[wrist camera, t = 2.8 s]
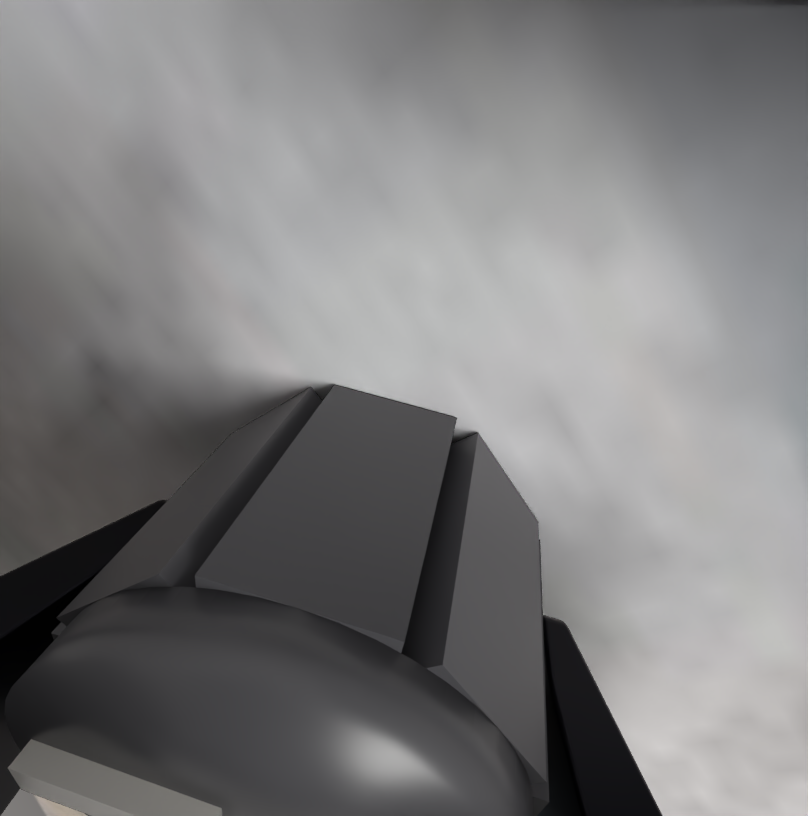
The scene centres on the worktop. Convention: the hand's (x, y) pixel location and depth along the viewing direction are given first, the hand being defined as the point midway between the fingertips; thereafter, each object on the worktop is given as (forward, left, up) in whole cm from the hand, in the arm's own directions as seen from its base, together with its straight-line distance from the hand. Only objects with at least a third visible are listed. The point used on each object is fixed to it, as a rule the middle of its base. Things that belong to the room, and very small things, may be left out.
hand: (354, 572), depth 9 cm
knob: (0, 0, -1) cm, 1 cm away
